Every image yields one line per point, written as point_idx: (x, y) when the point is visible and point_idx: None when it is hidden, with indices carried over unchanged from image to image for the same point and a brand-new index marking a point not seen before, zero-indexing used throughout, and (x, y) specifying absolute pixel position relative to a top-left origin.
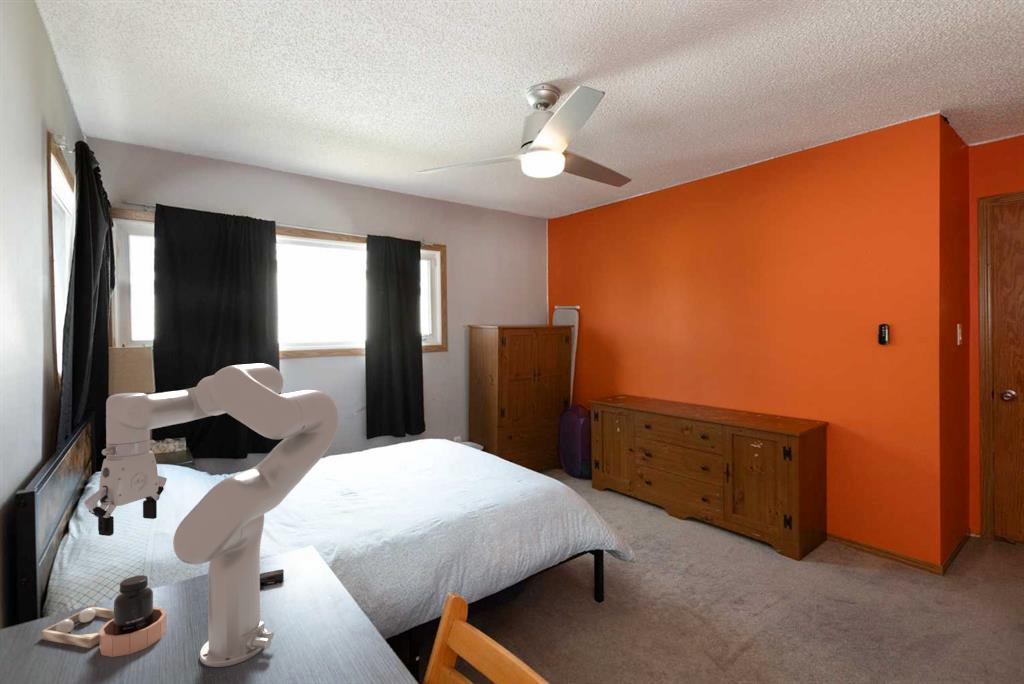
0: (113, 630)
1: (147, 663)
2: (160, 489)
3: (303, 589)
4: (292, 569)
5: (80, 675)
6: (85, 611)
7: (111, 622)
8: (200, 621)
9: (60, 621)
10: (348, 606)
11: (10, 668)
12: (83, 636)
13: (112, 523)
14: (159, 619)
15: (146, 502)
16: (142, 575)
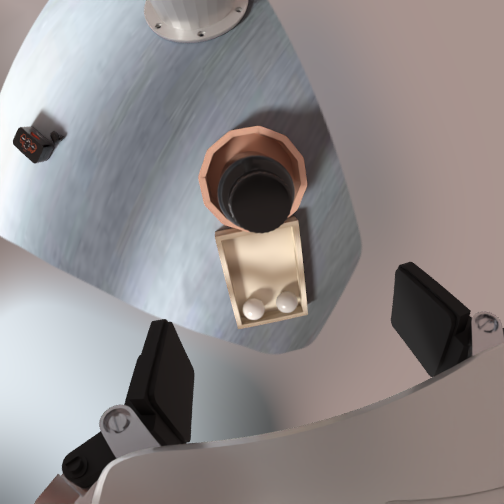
0: None
1: (281, 84)
2: (81, 467)
3: (34, 78)
4: (3, 165)
5: (337, 155)
6: (259, 311)
7: None
8: (162, 124)
9: (291, 311)
10: None
11: (354, 267)
12: (296, 241)
13: (436, 292)
14: (227, 138)
15: (179, 429)
16: (233, 213)
